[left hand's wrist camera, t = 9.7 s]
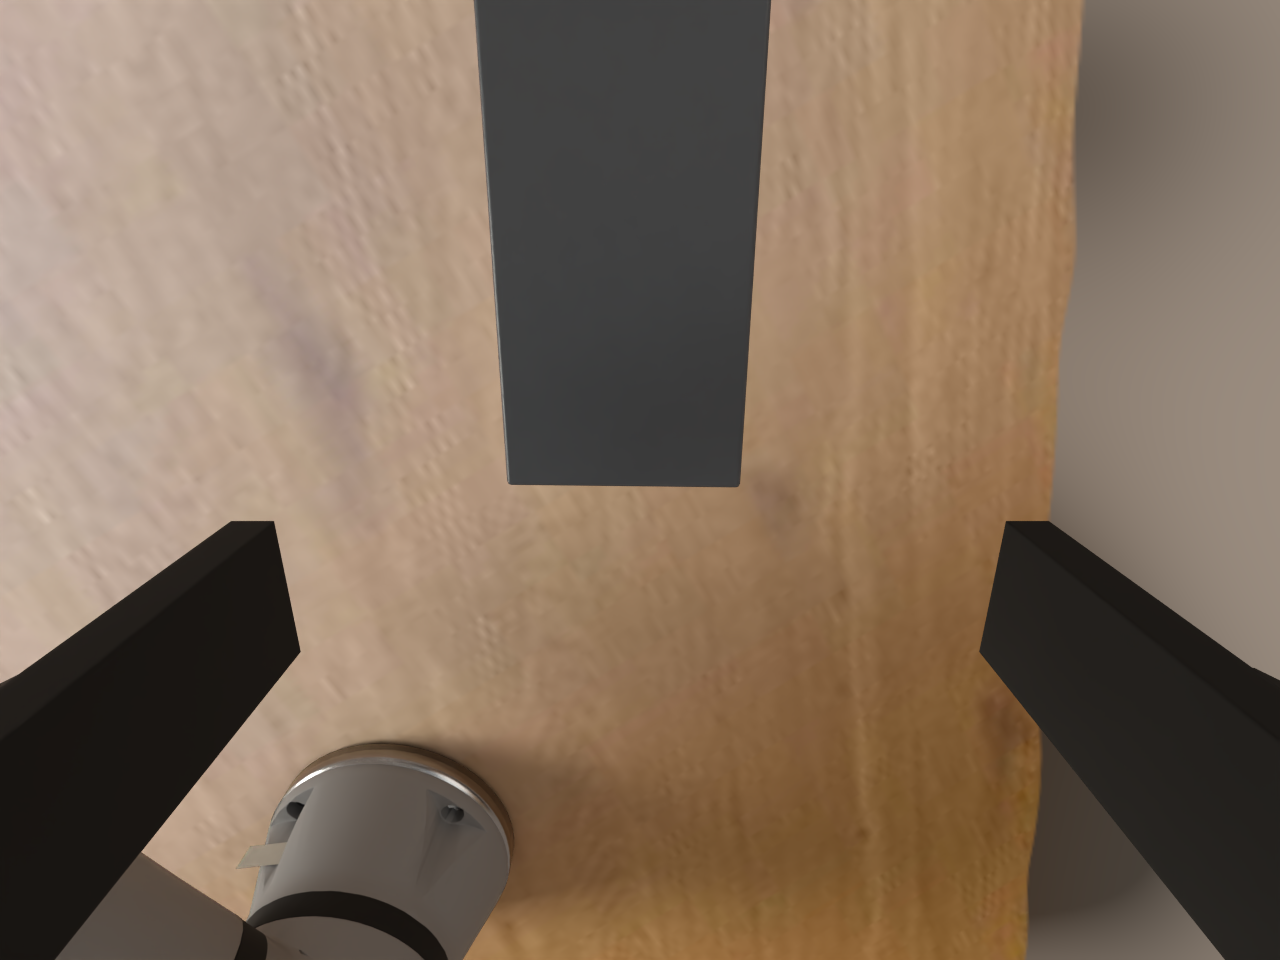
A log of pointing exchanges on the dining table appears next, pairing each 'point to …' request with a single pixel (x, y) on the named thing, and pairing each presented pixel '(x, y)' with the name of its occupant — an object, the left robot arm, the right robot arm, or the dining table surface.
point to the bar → (623, 233)
